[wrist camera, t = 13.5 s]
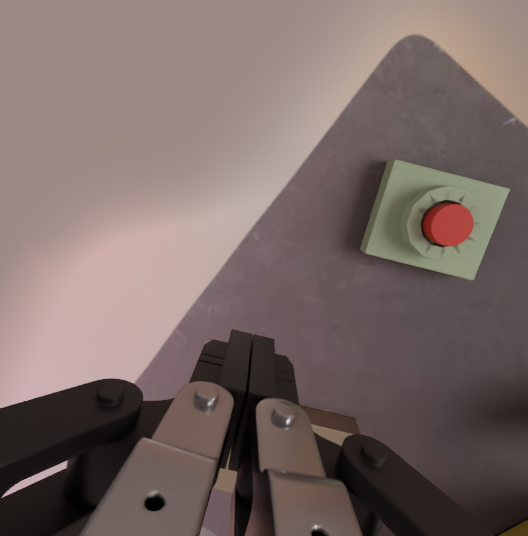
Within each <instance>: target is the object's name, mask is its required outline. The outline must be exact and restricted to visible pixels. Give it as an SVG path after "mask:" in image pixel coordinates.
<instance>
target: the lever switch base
mask: <svg viewBox="0 0 528 536" xmlns="http://www.w3.org/2000/svg"><path fill="white" fill-rule="evenodd" d="M299 407H301V408H302V409H303V410H304V411H305V412H306V413H307V415H308V417H309V419H310V422H311V425H312V429H313V431H314V432H315V433H316V434H318V435H320V436H321V437H323V438H325V439H327V440H329V441H332V442H334V443H336V444H338V445H340V446H342V443H343V441H344V439H345V438H346V437H347V436H349V435H354V434H360V431H359V428H358V425H357V422H356V419H355V418H350V417H346V416H342V415H338V414H334V413H330V412H325V411H321V410H317V409H313V408H309V407H305V406H300V405H299ZM360 435H361V434H360ZM230 451H231V450H230ZM229 458H230V454H229V457H228V461H227V465H226V469H222V468H220V471H219V474H218V478H217V482H216V483H215V485H214V489H217V490H221V491H226V492H230V493H233V490H234V486H235V483H236V477H237V471H232V470H228V465H229Z"/></svg>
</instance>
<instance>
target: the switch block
mask: <svg viewBox="0 0 528 536" xmlns="http://www.w3.org/2000/svg"><path fill="white" fill-rule="evenodd" d="M509 190H510V189H509V188H505V187H501V186H497V185H493V184H489V183H485V182H481V181H478V180H474V179H470V178H466V177H462V176H458V175H454V174H450V173H447V172H443V171H439V170H435V169H431V168H427V167H423V166H419V165H416V164H412V163H408V162H404V161H400V160H396V159H395V160H391V161H388V162H387V164H386V168H385V171H384V174H383V177H382V180H381V183H380V187H379V190H378V193H377V196H376V199H375V202H374V206H373V209H372V212H371V215H370V218H369V221H368V225H367V228H366V231H365V234H364V237H363V240H362V243H361V247H360V250H361V251H362V252H364V253H365V254H369V255H373V256H377V257H381V258H385V259H389V260H393V261H396V262H400V263H404V264H408V265H412V266H416V267H420V268H424V269H428V270H432V271H436V272H440V273H444V274H448V275H452V276H456V277H460V278H464V279H468V280H474V277H475V275H476V272H477V270H478V268H479V265H480V263H481V260H482V258H483V255H484V253H485V250H486V248H487V245H488V243H489V240H490V238H491V235H492V233H493V230H494V228H495V225H496V223H497V220H498V218H499V215H500V213H501V210H502V208H503V205H504V203H505V200H506V198H507V195H508V193H509ZM443 203H449V204H458V205H462V206H464V207H466V208H467V209H468V210H469V211H470V212H471V214H472V216H473V220H474V225H473V230H472V232H471V234H470V236H469V237H468V238H467V239H466V240H465V241H464V242H462V243H461V244H458V245H456V246H444V245H441V244H438V243H435V242H432V241H431V240H429V239H428V238H427V237H426V235H425V234H424V231H423V220H424V217H425V215H426V214H427V212H428V211H429V210H430V209H431V208H433V207H434V206H436V205H439V204H443Z"/></svg>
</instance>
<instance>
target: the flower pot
mask: <svg viewBox="0 0 528 536" xmlns="http://www.w3.org/2000/svg"><path fill="white" fill-rule="evenodd" d="M498 536H528V520H526V521H524V522H522V523H521V524H519V525H517V526H515V527H513V528H511V529H509V530H508V531H506V532H504V533H502V534H500V535H498Z"/></svg>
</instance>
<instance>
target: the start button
mask: <svg viewBox="0 0 528 536" xmlns="http://www.w3.org/2000/svg"><path fill="white" fill-rule="evenodd" d="M473 225H474V220H473V216H472V214H471V212H470V211H469V210H468V209H467V208H466V207H464V206H462V205H458V204H449V203H443V204H439V205H436V206H434V207H433V208H431V209H430V210H429V211H428V212H427V214H426V215H425V217H424V220H423V231H424V234H425V235H426V237H427V238H428V239H429V240H431V241H432V242H435V243H438V244H441V245H444V246H456V245H458V244H461V243H462V242H464V241H465V240H466V239H467V238H468V237H469V236H470V234H471V232H472V230H473Z"/></svg>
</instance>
